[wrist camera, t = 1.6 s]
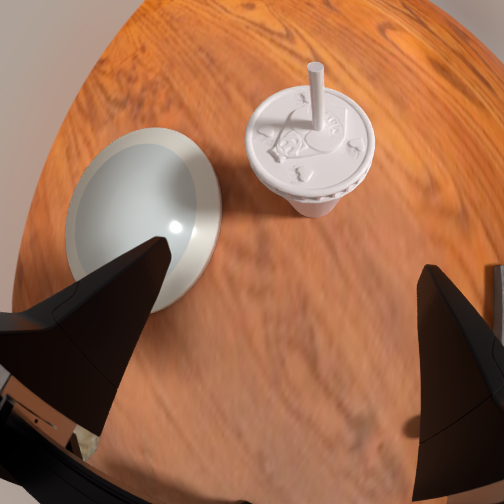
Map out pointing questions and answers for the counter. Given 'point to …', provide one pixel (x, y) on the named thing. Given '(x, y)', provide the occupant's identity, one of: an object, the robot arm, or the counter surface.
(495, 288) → the door handle
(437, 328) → the robot arm
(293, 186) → the smoothie
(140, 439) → the counter surface
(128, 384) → the counter surface
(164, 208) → the plate
